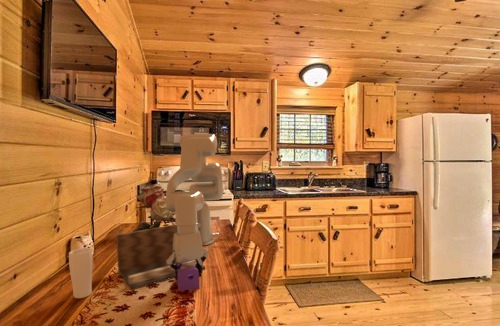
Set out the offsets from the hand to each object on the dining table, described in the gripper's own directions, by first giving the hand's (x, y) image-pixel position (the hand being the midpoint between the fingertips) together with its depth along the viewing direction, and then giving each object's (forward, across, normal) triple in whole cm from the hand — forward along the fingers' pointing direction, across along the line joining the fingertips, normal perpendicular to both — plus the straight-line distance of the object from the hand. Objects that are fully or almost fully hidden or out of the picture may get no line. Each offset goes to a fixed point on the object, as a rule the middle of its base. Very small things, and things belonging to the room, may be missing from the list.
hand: (189, 278), depth 105 cm
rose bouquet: (+1, -16, -82) cm, 83 cm away
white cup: (+2, +32, -14) cm, 35 cm away
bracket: (+2, +1, 0) cm, 2 cm away
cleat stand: (+1, +4, -18) cm, 19 cm away
